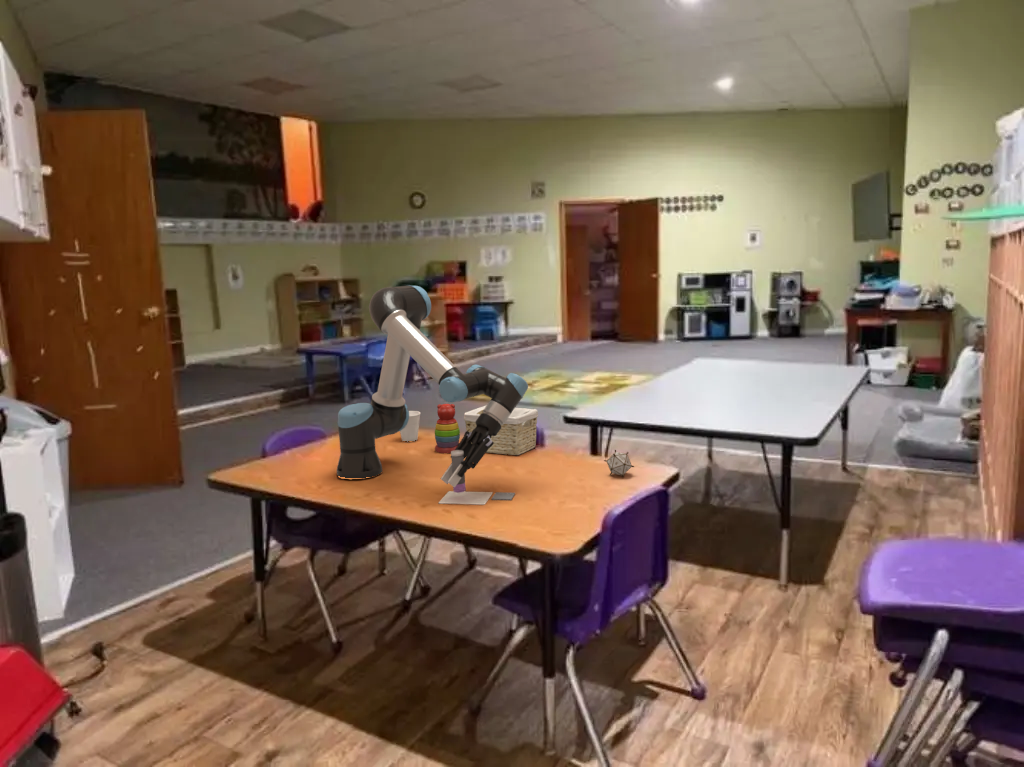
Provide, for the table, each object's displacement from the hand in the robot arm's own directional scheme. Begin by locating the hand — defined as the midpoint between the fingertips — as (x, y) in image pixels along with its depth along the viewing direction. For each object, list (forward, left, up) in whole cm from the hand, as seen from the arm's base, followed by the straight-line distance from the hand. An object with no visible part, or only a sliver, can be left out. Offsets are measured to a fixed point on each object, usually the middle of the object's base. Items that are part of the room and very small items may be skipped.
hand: (447, 483), depth 220 cm
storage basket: (+3, +61, -6) cm, 61 cm away
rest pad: (+15, +6, -6) cm, 17 cm away
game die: (+48, +30, -6) cm, 57 cm away
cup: (-37, +72, -6) cm, 81 cm away
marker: (+3, +3, -3) cm, 5 cm away
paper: (+4, +4, -6) cm, 8 cm away
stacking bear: (-17, +58, -6) cm, 61 cm away
